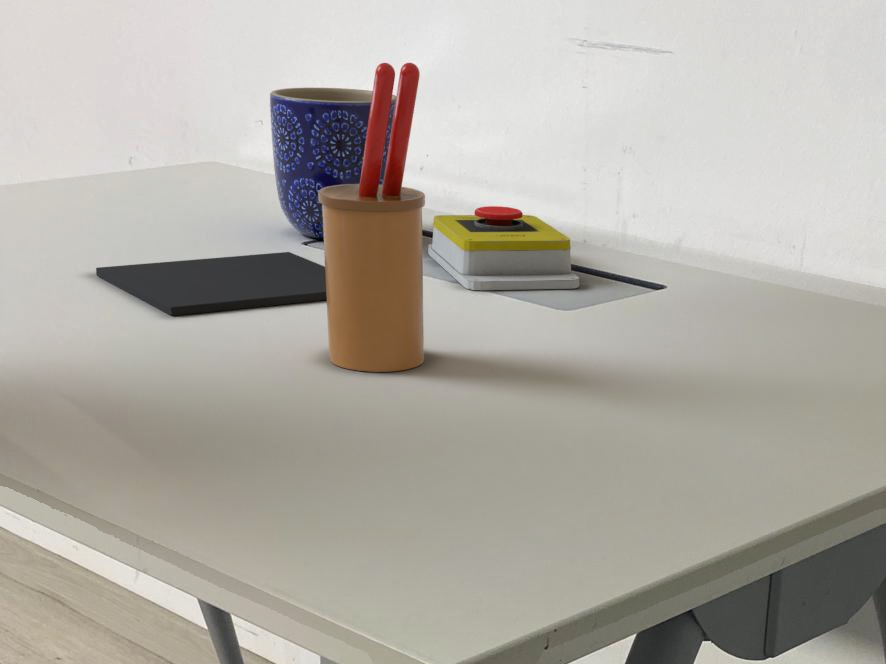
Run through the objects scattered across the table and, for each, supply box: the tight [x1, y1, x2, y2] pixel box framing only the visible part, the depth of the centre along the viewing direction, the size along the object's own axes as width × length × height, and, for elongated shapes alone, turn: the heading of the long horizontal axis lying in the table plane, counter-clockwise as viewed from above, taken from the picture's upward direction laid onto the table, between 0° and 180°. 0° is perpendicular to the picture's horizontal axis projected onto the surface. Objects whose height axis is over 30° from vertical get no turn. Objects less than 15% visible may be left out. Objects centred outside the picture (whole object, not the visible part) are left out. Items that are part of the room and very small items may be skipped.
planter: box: [269, 87, 397, 240], centre depth 124 cm, size 11×11×11 cm
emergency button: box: [427, 205, 580, 291], centre depth 116 cm, size 9×4×15 cm
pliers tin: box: [318, 62, 426, 373], centre depth 87 cm, size 6×7×17 cm
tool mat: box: [95, 251, 327, 317], centre depth 107 cm, size 16×14×1 cm
